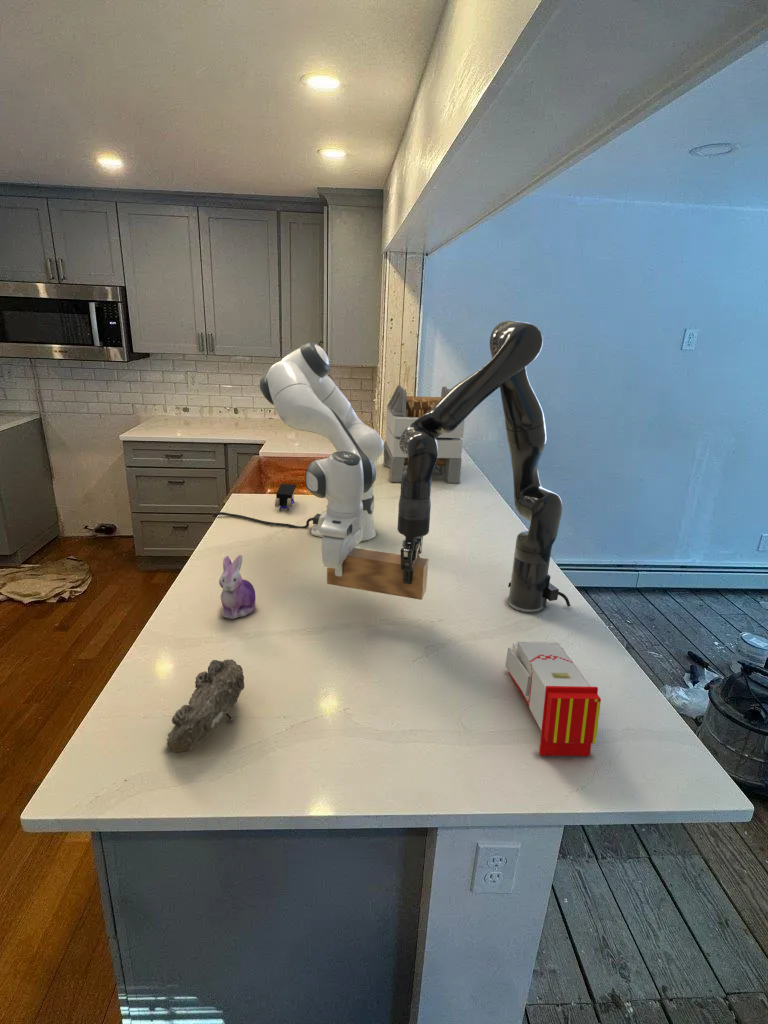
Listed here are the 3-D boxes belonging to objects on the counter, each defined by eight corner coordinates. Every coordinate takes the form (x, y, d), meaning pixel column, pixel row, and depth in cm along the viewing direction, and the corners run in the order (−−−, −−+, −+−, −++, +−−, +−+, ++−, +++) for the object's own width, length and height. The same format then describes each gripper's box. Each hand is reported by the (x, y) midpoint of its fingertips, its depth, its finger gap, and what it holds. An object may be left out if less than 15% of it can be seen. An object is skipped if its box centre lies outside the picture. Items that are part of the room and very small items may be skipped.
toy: (554, 624, 127) (610, 694, 97) (548, 679, 130) (602, 763, 100) (500, 623, 126) (541, 693, 97) (496, 678, 129) (534, 763, 100)
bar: (326, 584, 143) (327, 552, 140) (334, 575, 148) (334, 544, 145) (421, 600, 137) (423, 567, 134) (426, 590, 142) (428, 558, 139)
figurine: (224, 623, 139) (221, 568, 134) (215, 604, 148) (212, 552, 142) (262, 616, 143) (260, 562, 138) (251, 598, 152) (249, 546, 147)
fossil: (192, 660, 117) (244, 628, 112) (224, 691, 120) (276, 661, 115) (142, 746, 98) (202, 712, 93) (182, 779, 101) (242, 748, 96)
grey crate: (382, 463, 289) (386, 382, 275) (445, 464, 293) (451, 384, 279) (390, 482, 257) (394, 392, 243) (460, 483, 261) (468, 394, 247)
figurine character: (292, 516, 215) (297, 499, 228) (291, 498, 212) (296, 482, 225) (274, 516, 215) (280, 499, 228) (273, 498, 211) (279, 482, 225)
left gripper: (346, 504, 149) (345, 552, 154) (317, 530, 131) (317, 584, 135) (369, 507, 148) (367, 555, 152) (343, 534, 129) (341, 589, 134)
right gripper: (423, 525, 126) (418, 593, 132) (435, 505, 139) (431, 568, 145) (390, 521, 128) (387, 588, 134) (406, 502, 141) (402, 564, 147)
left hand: (343, 569), depth 144 cm, fingers closed on bar, 5 cm apart
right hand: (410, 577), depth 139 cm, fingers closed on bar, 5 cm apart
